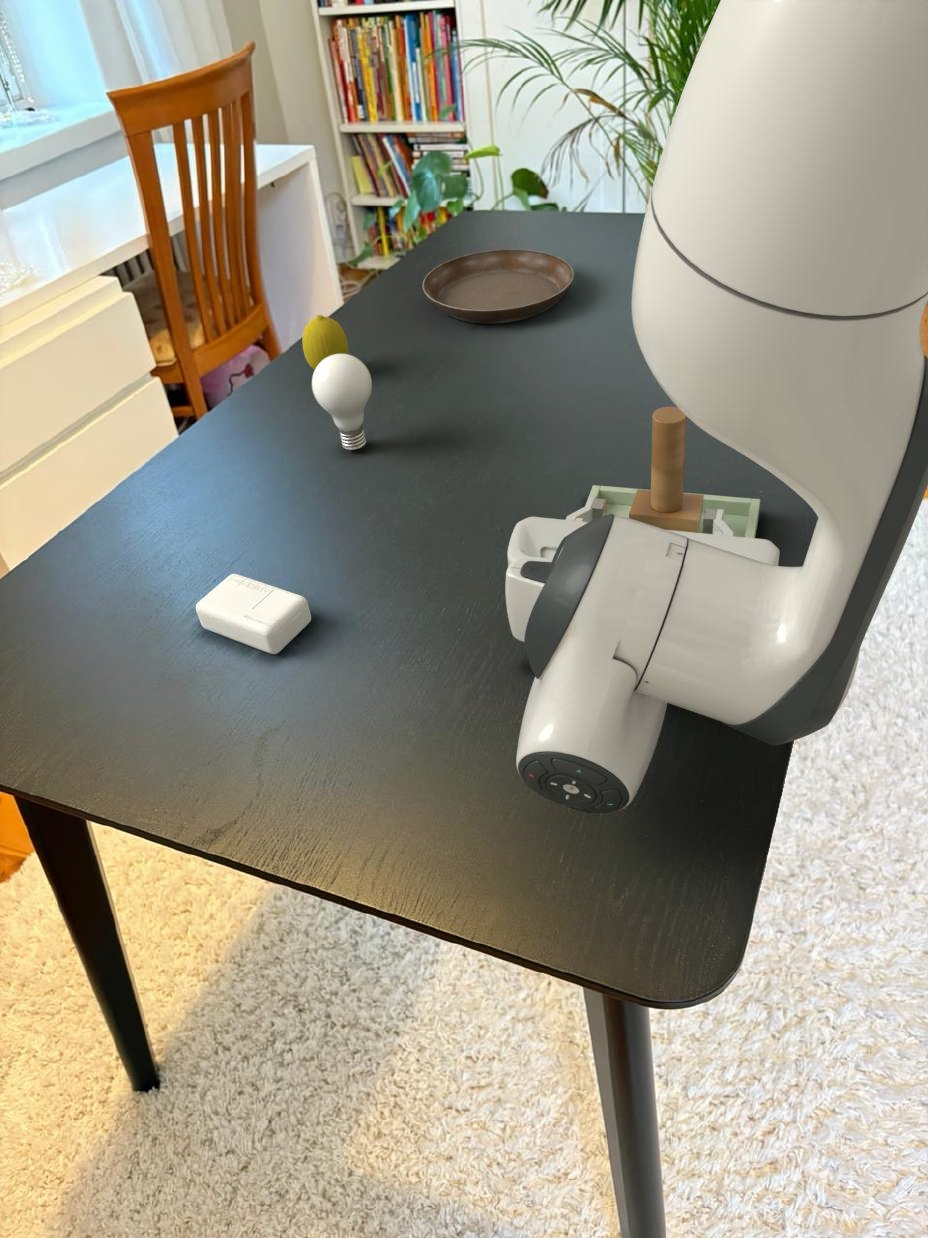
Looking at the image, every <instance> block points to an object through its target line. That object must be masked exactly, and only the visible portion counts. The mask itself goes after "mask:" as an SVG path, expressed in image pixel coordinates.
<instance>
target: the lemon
mask: <svg viewBox="0 0 928 1238" xmlns="http://www.w3.org/2000/svg"><path fill="white" fill-rule="evenodd" d="M301 342H302V352H303V354H304V358H305V360H306V362H307V364H308V365H309V366H310V368H311V369H313V370H315V369H316V367H317V365H318V364H319V363H320V362H321V361H322V360H323V359H325V358H326V357H328V356H330V355H334V354H349V341H348V338H347V335H346V333H345V332H344V329H343V327H342V326H341V324H340V323H339V322H338V321H337V320H335V319H334V318H332V317H329V316H323V315H322V314H317V315H316V316H315V317H314V318H312V319H310V320H309V322H308V323H307V324H306V325H305V326H304V329H303V332H302V340H301Z"/></svg>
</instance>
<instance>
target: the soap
mask: <svg viewBox="0 0 928 1238" xmlns="http://www.w3.org/2000/svg"><path fill="white" fill-rule="evenodd" d="M195 612H196V614H197V616H198V619H199V622H200V625H201V626H202V628H203V629H205V630H207V631H209V632H213V633H215V634H218V635H220V636H223V637H226V638H227V639H230V640H233V641H236V642H239V643H241V644H244V645H247V646H250V647H252V648H255V649H257V650H260V651H261V652H262V651H263V652H265V653H268V654H270V655H277V654H279V653H280V652H281V651H282V650H283V649H284V648H285V647H286V646H287V645H288V644H290V642H292V641H293V640H294V638H296V636H298V635H299V634H300V632H302V631H303V629H305V628H306V627H307V626H308V625H309V624H310V623H311V621H312V614H311V610H310V607H309V603H308V600H307V598H306V597H304V596H303V595H301V594H297V593H294V592H291V591H288V590H285V589H283V588H280V587H276V586H274V585H270V584H267V583H265V582H262V581H259V580H255V579H252V578H249V577H248V576H247V577H246V576H244V575H241V574H238V573H231V574H229V576H227V577H226V578H225V579H224V580H222V581H221V582H220V583H219V584H218V585H216V586H215V587H214V588H213V589H212V590H210V591H209V592H208V593H207V594H206V595H205V596H203V598H201V599H200V600H199V601H198V602H197V603H196V604H195Z"/></svg>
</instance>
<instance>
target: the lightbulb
mask: <svg viewBox="0 0 928 1238" xmlns="http://www.w3.org/2000/svg"><path fill="white" fill-rule="evenodd" d="M313 370H314V369H313ZM311 391H312V394H313V396H314V400H316V402H317V403H318V405H319V406H320V407H321V408H322V409H323V410H324V411H325V412H327V413H328V415H330V417H331V418H332V421H333V423H334V425H335V426H336V428H337V429H338V432H339V436H340V441H341V445H342V448H343V449H345V450H348V451H354V452H356V451H358V450H360V449H361V448H363V447H365V445H366V444H367V439H366V433H365V429H364V421H365V409H366V407H367V404H368V402H369V400H370V398H371V395H372V392H373V379H372V375H371V372H370V370H369V368H368V367H367V365H366V364H365V363H364V362H363V361H362V360H361V359H359V358H358V357H356V356H354V355H352V354H349V353H348V354H334V355H330V356H328V357H326V358H325V359H323V360H322V361H321V362H320V363H319V364H318V365H317V367H316V369H315V370H314V371H313V373H312V377H311Z"/></svg>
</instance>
